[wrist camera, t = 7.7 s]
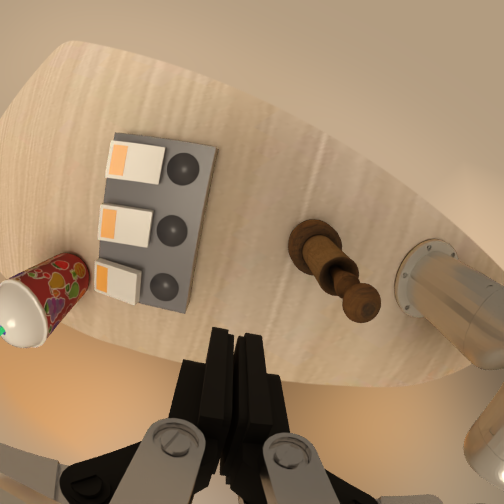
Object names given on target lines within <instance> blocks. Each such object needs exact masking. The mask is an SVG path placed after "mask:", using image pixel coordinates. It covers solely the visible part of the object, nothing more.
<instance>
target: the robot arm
mask: <svg viewBox="0 0 504 504" xmlns="http://www.w3.org/2000/svg"><path fill="white" fill-rule="evenodd" d="M395 296H396V300H397V303H398V305H399V306H400V308H401V309H402V310H403V311H404V312H405V313H406V314H408V315H409V316H411V317H415V318H423V317H425V318H426V319H427V320H428V321H429V322H430V323H431V324H433V325H434V326H435V327H436V328H437V329H438V330H439V331H440V332H441V333H442V334H443V335H444V336H445V337H446V338H447V339H448V340H449V341H450V342H451V343H452V344H453V345H454V346H455V347H456V348H457V349H458V350H459V351H460V352H461V353H462V354H463V355H464V356H465V357H466V358H467V359H468V360H469V361H470V362H471V363H472V364H473V365H475V366H476V367H478V368H480V369H483V370H499V369H504V286H503V285H501V284H499V283H497V282H496V281H494V280H492V279H491V278H489V277H487V276H485V275H484V274H482V273H480V272H478V271H477V270H475V269H473V268H471V267H469V266H468V265H466V264H464V263H462V262H460V261H459V259H458V256H457V253H456V251H455V250H454V248H453V247H452V246H451V245H450V244H448V243H446V242H444V241H441V240H437V239H432V240H427V241H425V242H422V243H420V244H419V245H418V246H416V247H415V248H414V249H413V250H412V251H411V252H410V253H409V254H408V255H407V256H406V258H405V259H404V261H403V263H402V264H401V266H400V269H399V271H398V274H397V278H396V282H395ZM233 353H234V355H233ZM463 448H464V455H465V458H466V460H467V462H468V464H469V465H470V467H471V468H472V469H473V470H474V471H475V472H476V473H477V474H478V475H479V476H481V477H482V478H483V479H485V480H486V481H488V482H489V483H491V484H492V485H494V486H496V487H497V488H499V489H501V490H502V491H504V382H503V383H502V386H501V388H500V389H499V391H498V392H497V393H496V395H495V396H494V398H493V399H492V400H491V402H490V403H489V404H488V406H487V407H486V408H485V410H484V411H483V412H482V414H481V415H480V416H479V417H478V419H477V420H476V421H475V423H474V424H473V425H472V427H471V428H470V430H469V431H468V433H467V435H466V437H465V440H464V446H463ZM219 460H220V475H223V476H224V475H225V476H226V484H230V488H231V490H232V491H234V492H235V493H236V494H237V495H238V502H239V504H443V502H442V501H441V500H440V499H439V498H438V497H436V496H434V495H428V494H427V495H415V496H414V495H413V496H381V497H380V498H378V499H374V498H373V497H372V496H370V495H369V494H367V493H365V492H363V491H361V490H359V489H358V488H356V487H354V486H352V485H350V484H349V483H347V482H345V481H344V480H342V479H340V478H338V477H337V476H335V475H334V474H332V473H330V472H329V471H327V470H326V469H324V467H323V465H322V462H321V460H320V458H319V456H318V453H317V451H316V449H315V447H314V446H313V444H312V443H310V442H309V441H308V440H307V439H306V438H304V437H302V436H300V435H297V434H293V433H290V430H289V424H288V419H287V413H286V407H285V402H284V396H283V391H282V385H281V379H280V376H279V375H275V374H267V373H266V365H265V357H264V349H263V341H262V336H261V335H256V334H250V333H245V335H244V337H243V336H238V339H237V343H236V347H235V351H234V335H231V334H228V330H227V329H222V328H217V327H212V332H211V337H210V342H209V348H208V353H207V358H206V364H204V363H199V362H194V361H190V360H185V359H183V362H182V366H181V370H180V373H179V377H178V381H177V385H176V389H175V393H174V397H173V401H172V405H171V409H170V413H169V417H168V418H166V419H162V420H158V421H157V422H155V423H153V424H152V425H151V426H150V428H149V429H148V430H147V432H146V434H145V436H144V438H143V440H142V441H140V442H138V443H135V444H133V445H130V446H127V447H125V448H122V449H119V450H116V451H113V452H111V453H107V454H104V455H102V456H98V457H95V458H92V459H89V460H85V461H82V462H79V463H75V464H73V465H71V466H67V465H63V464H60V463H59V461H57V460H53V459H49V458H46V457H42V456H38V455H35V454H32V453H28V452H25V451H22V450H19V449H16V448H13V447H10V446H8V445H5V444H2V443H0V504H192V500H193V497H194V494H195V493H197V492H199V491H201V490H202V489H204V488H206V487H208V485H209V482H210V479H211V475H212V474H215V472H216V469H217V466H218V463H219ZM479 504H480V503H479Z"/></svg>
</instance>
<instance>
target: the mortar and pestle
mask: <svg viewBox="0 0 504 504" xmlns="http://www.w3.org/2000/svg"><path fill="white" fill-rule="evenodd" d="M288 250H289V254H290V257H291V259H292V261H293V263H294V264H295V266H296V267H297V268H298V269H299V270H300V271H302V272H304V273H306V274H309V275H314V276H315V278H316V280H317V281H318V283H319V285H320V286H321V288H322V289H323V290H324V291H325V292H326V293H328V294H330V295H334V296H339V297H340V298H343V303H342V306H343V310H344V313H345V314H346V316H347V317H348V318H349V319H350V320H352V321H354V322H357V323H365V322H368V321H371V320H372V319H373V318H375V317H376V315H377V314H378V312H379V310H380V307H381V298H380V295H379V293H378V291H377V290H376V289H375V288H374V287H372V286H371V285H369V284H366V283H360V281H359V279H358V278H359V271H358V267H357V265H356V264H355V262H354V261H353V260H352V259H350V258H349V257H348V256H347V255H346V254H345V253H344V252H343V251H342V243H341V239H340V237H339V235H338V233H337V232H336V231H335V230H334V229H333V228H332V227H331V226H329V225H328V224H327V223H325V222H323V221H320V220H307V221H304V222H302V223H300V224H299V225H298V226H296V227H295V229H294V230H293V231H292V233H291V235H290V238H289V242H288Z"/></svg>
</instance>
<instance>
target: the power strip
mask: <svg viewBox="0 0 504 504" xmlns="http://www.w3.org/2000/svg"><path fill="white" fill-rule="evenodd" d="M113 141H122V142H130V143H138V144H145V145H152V146H159V147H165V148H166V149H165V154H164V159H163V164H162V169H161V174H160V180H159V184H158V185H157V184H151V183H144V182H137V181H129V180H122V179H114V178H107V180H106V187H105V195H104V203H110V204H116V205H123V206H130V207H136V208H142V209H149V210H154V212H153V218H152V225H151V233H150V240H149V245H148V248H146V247H140V246H134V245H128V244H122V243H116V242H109V241H103V240H100V248H99V258H102V259H105V260H108V261H111V262H114V263H118V264H121V265H124V266H127V267H130V268H133V269H137V270H140V271H142V272H141V284H140V297H139V302H138V303H141V304H145V305H149V306H153V307H157V308H162V309H166V310H170V311H175V312H179V313H184V314H185V313H186V310H187V307H188V305H189V302H190V296H191V289H192V283H193V277H194V271H195V265H196V259H197V253H198V248H199V242H200V237H201V231H202V226H203V221H204V215H205V210H206V205H207V200H208V195H209V190H210V186H211V181H212V176H213V172H214V167H215V162H216V158H217V153H218V148H216V147H212V146H207V145H201V144H196V143H190V142H184V141H177V140H171V139H164V138H157V137H150V136H142V135H133V134H124V133H115V135H114V140H113Z"/></svg>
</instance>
